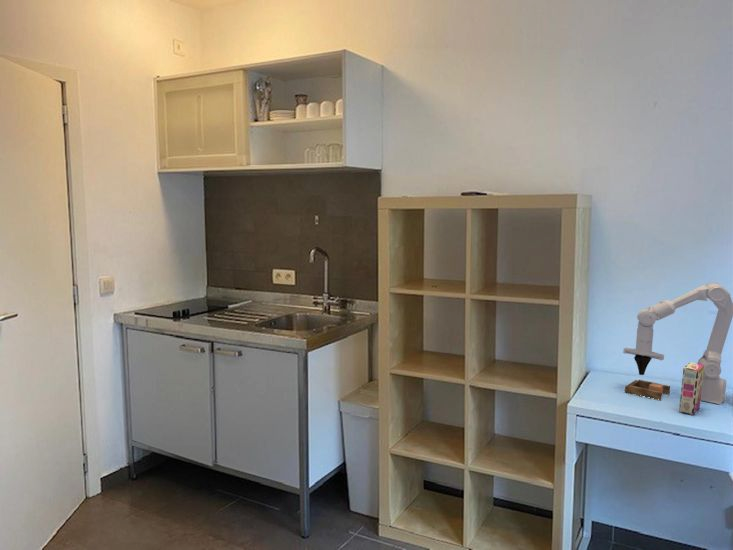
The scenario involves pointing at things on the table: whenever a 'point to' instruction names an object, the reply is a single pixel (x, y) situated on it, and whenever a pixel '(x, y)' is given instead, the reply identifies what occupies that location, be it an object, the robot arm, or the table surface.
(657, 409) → the table surface
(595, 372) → the table surface
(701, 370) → the candy bar box
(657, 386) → the cube
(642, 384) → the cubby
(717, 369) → the robot arm
